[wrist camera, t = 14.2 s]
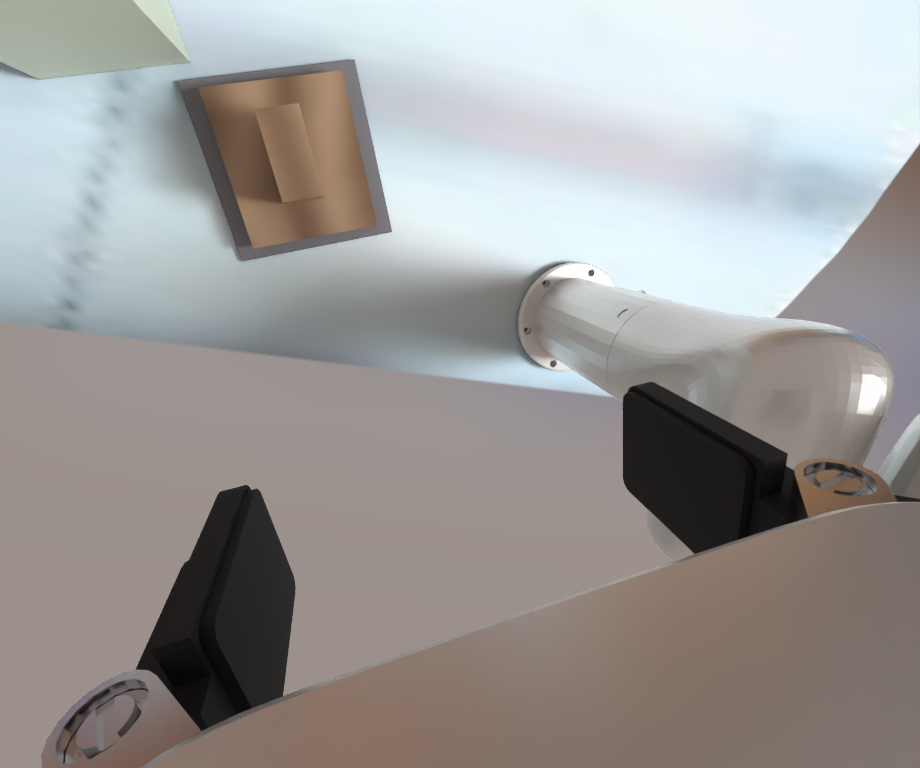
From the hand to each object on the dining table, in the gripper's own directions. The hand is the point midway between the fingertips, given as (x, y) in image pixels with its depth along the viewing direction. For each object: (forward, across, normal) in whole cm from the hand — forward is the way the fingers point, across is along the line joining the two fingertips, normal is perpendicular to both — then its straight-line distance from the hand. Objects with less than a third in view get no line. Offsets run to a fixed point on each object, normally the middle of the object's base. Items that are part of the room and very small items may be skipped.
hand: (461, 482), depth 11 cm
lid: (+35, +4, -11) cm, 37 cm away
